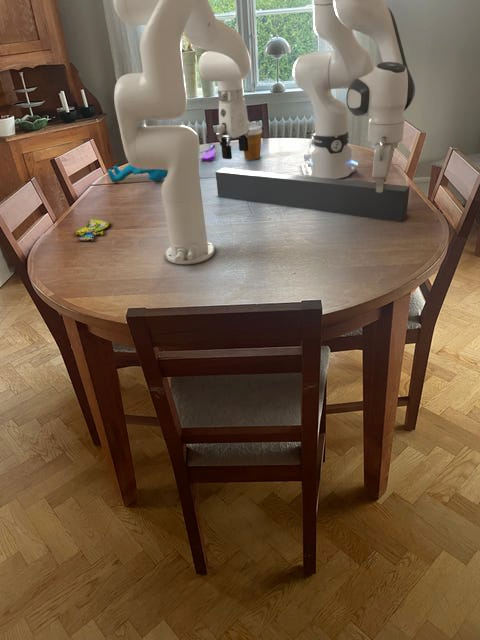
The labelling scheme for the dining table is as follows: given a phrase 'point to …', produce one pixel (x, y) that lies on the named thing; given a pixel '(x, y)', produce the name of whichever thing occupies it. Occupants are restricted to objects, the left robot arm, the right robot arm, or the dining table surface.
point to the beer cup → (253, 142)
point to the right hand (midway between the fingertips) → (381, 186)
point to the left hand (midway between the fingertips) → (235, 154)
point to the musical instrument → (209, 154)
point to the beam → (315, 193)
